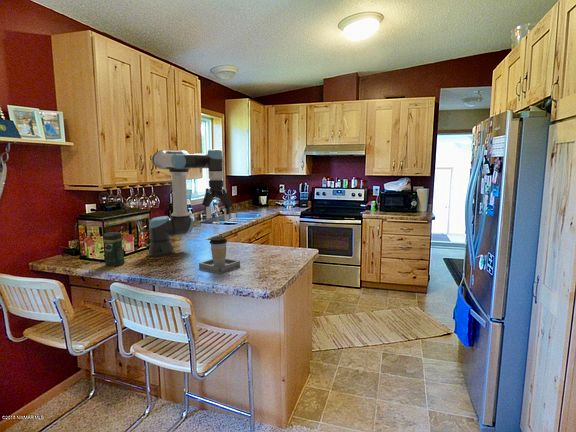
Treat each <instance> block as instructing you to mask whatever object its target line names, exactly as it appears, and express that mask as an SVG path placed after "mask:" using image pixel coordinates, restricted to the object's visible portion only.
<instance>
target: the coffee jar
mask: <svg viewBox="0 0 576 432" xmlns="http://www.w3.org/2000/svg"><path fill="white" fill-rule="evenodd" d="M122 235H123V234H122V233H121V232H116V231H114V232H113V231H112V232H110V231H108V232H105V233H104V234H103V236H102V242H103V244H104V263H105V266H110V267H116V266H122V265H124V264H125V256H124V249H123V236H122Z"/></svg>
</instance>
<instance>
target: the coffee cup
mask: <svg viewBox="0 0 576 432" xmlns="http://www.w3.org/2000/svg"><path fill="white" fill-rule="evenodd" d="M227 243H228V240H227V239H226V237H222V236H217V237H216V236H215V237H212V238H210V240H209V244H210V250H211V258H212V259H213V263H214V266H217V267H222V266H225V258H227Z"/></svg>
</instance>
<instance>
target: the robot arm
mask: <svg viewBox="0 0 576 432" xmlns="http://www.w3.org/2000/svg"><path fill="white" fill-rule="evenodd" d="M223 161H224V157H223V151H222V150H221V149H208V150H207V153H192V154H191V153H189V152H188V151H187V150H180V149H179V150H178V149H177V150H172V149H171V150H167V149H163V150H157V151H156V152H154V154H153V155H152V156H151V162H152V164H153V166H154V167H156V168H157V169H160V170H169V171H168V172H169V174H170V175H171V183H172V184H171V185H172V186H171V187H172V207H173V208H172V210H173V211H172V213H171V214H170V217H169V216H168V215H163V216H156V217H153V218H151V219H150V220H149V227H148V228H149V236H150V244H149V249H148V252H147V253H148V256H149V257H154V258H155V257H156V258H158V257H165V256H166V257H167V256H171V255H173V254H175V249H174V247H173V245H172V241H171V237H173V236H175V237H176V236H182V235H188V234H190V233H192V231H193V230H194V227H195V226H194V225H195V223H194V218H193V217H192V216H191V214H190V212H189V211H188V195H187V193H188V192H187V189H188V188H187V174H188V173H189V170H191V169H208V170H207V171H208V179H209V180H208V188H205V194H204V198H203V200H202V204H201V205H202V206H204V208H205V215H206V220H209V219H211V218H212V208H211V207H212V206H211V204H212V202H213V200H214V199H215V198H216V199H217V198H218V199H219V200H220V202H221V203H222V205H223V206H224V208H223V214H224V215H223V216H224V217H223V218H224V220H223V221H225V222H227V221H230V214H231V212H230V211H231V210H230V209H231V208H233V206H234V205H233V203H232V200H231V198H230V195H229V192H228V191H229V190H228V188H223V187H224V180H223V179H224V164H223V163H224V162H223Z"/></svg>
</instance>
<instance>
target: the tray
mask: <svg viewBox="0 0 576 432" xmlns="http://www.w3.org/2000/svg"><path fill="white" fill-rule="evenodd" d="M239 267H241V262H240V260H236V259H232V258H231V259H230V258H227V257H226V258H225V266H222V267H217V266H214V263H213V258H212V259H208V260H204V261H201V262H199V263H198V269H199V270H204V271H207V272H213V273H217V274H224V273H225V272H228V271H231V270H234V269H236V268H239Z"/></svg>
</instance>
